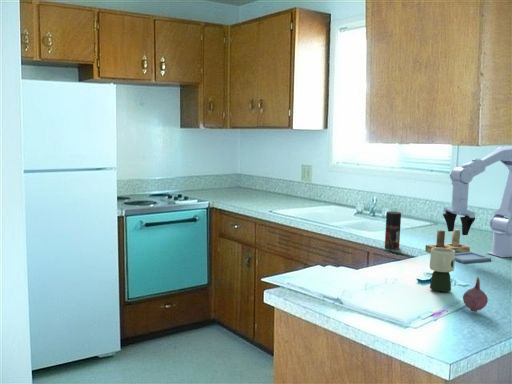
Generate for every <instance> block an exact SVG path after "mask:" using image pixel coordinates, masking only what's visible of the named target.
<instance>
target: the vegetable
mask: <svg viewBox="0 0 512 384" xmlns="http://www.w3.org/2000/svg"><path fill="white" fill-rule="evenodd" d="M475 278H476V282H475V285H474V286H473V287H471V288H470V289H468V290H466V291H465V292H464V293H463V296H462V301H463V304H464V306H466V307H467V308H468V309H470V311H471V312H473V313H477V312H478V311H481V310H483V309H484V308H485V307H486V306H487V304H488V296H487V294H486V293H485V291H483V290H482V289H481V285H480V284H481V283H480V281H481V280H480V277H479V276H476V277H475Z"/></svg>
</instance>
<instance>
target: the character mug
mask: <svg viewBox="0 0 512 384" xmlns="http://www.w3.org/2000/svg"><path fill="white" fill-rule="evenodd" d="M455 262H456V261H455V250H452V249H448V248H439V247H437V248H431V253H430V258H429V269H430V270H431V271H433V272H432V274H431V279H430V284H429V289H431V290H432V291H433V290H434V291H438V292H439V293H442V292H445V293H447V292H448V293H449V292H451V291H452V282H451V274H450V272H454V271H455V264H456V263H455Z"/></svg>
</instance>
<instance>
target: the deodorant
mask: <svg viewBox="0 0 512 384" xmlns="http://www.w3.org/2000/svg"><path fill="white" fill-rule="evenodd" d="M401 220H402V212H399V211H387V212H386V217H385V235H384V236H385V237H384V248H385V249H388V250H400V243H401V242H400V241H401V240H400V239H401V237H400V236H401V222H402V221H401Z"/></svg>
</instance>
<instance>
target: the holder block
mask: <svg viewBox="0 0 512 384" xmlns="http://www.w3.org/2000/svg"><path fill="white" fill-rule="evenodd" d="M451 245H452V242H449V243H444V248H448V249H452V250H455V253H464V252H471V247H470V246H469V245H465V244H461V243H459V247H453V246H451ZM431 248H437V247H436V243H433V244H426V245H425V248H424V249H425V252H427V253H429V254H431Z"/></svg>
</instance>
